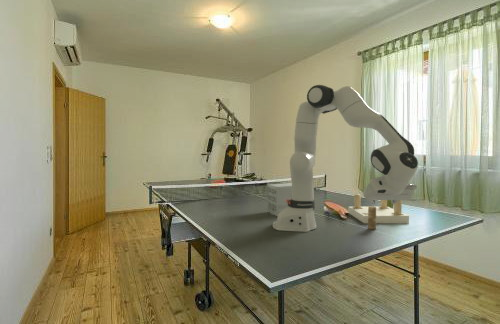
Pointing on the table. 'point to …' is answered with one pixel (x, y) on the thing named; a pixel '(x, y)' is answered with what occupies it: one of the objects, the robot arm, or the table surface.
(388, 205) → the plant pot
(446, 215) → the table surface
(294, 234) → the table surface
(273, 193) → the supplement box
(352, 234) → the table surface
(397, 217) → the stool seat
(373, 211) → the stool leg
